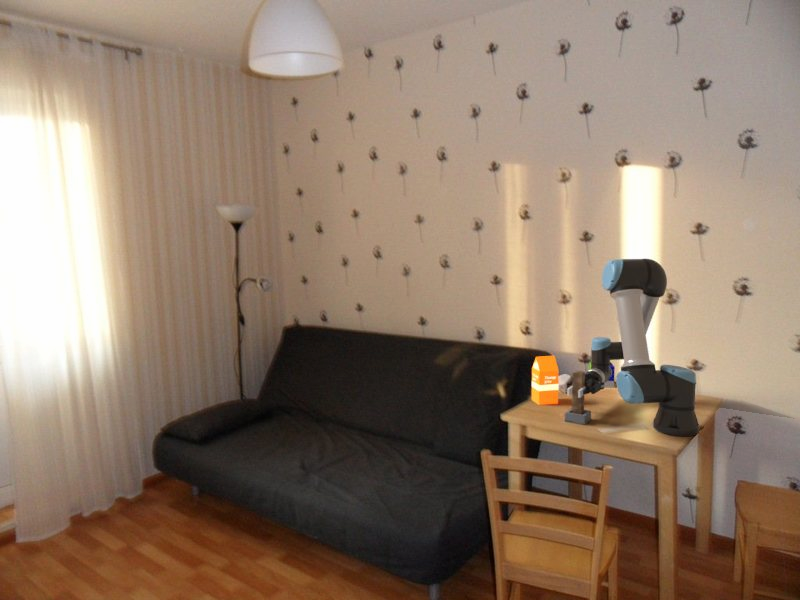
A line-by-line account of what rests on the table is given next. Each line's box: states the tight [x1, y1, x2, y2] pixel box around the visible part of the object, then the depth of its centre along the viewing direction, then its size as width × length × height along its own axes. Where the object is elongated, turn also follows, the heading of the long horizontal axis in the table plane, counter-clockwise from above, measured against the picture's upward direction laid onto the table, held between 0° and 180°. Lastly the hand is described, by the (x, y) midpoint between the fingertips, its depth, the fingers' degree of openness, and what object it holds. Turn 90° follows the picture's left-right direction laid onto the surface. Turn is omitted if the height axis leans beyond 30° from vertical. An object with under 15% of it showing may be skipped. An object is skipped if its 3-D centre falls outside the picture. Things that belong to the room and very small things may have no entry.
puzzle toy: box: [588, 361, 615, 389], centre depth 266 cm, size 10×10×10 cm
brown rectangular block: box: [571, 370, 586, 414], centre depth 216 cm, size 4×4×16 cm
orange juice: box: [531, 355, 559, 406], centre depth 240 cm, size 8×9×20 cm
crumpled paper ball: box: [558, 373, 573, 394], centre depth 256 cm, size 8×9×10 cm
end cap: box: [564, 407, 592, 426], centre depth 216 cm, size 8×8×4 cm
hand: (573, 393), depth 211 cm, fingers closed on brown rectangular block, 3 cm apart
